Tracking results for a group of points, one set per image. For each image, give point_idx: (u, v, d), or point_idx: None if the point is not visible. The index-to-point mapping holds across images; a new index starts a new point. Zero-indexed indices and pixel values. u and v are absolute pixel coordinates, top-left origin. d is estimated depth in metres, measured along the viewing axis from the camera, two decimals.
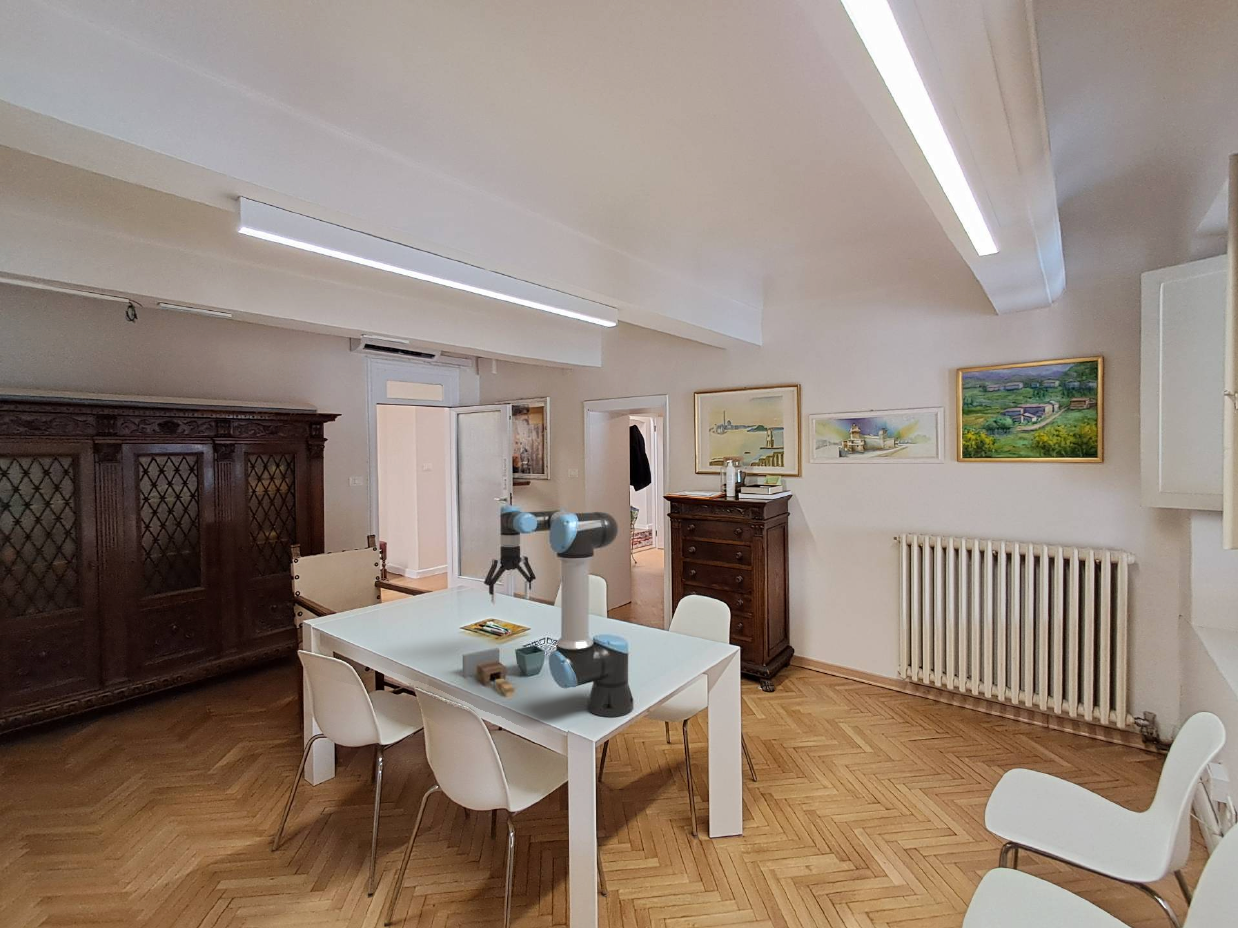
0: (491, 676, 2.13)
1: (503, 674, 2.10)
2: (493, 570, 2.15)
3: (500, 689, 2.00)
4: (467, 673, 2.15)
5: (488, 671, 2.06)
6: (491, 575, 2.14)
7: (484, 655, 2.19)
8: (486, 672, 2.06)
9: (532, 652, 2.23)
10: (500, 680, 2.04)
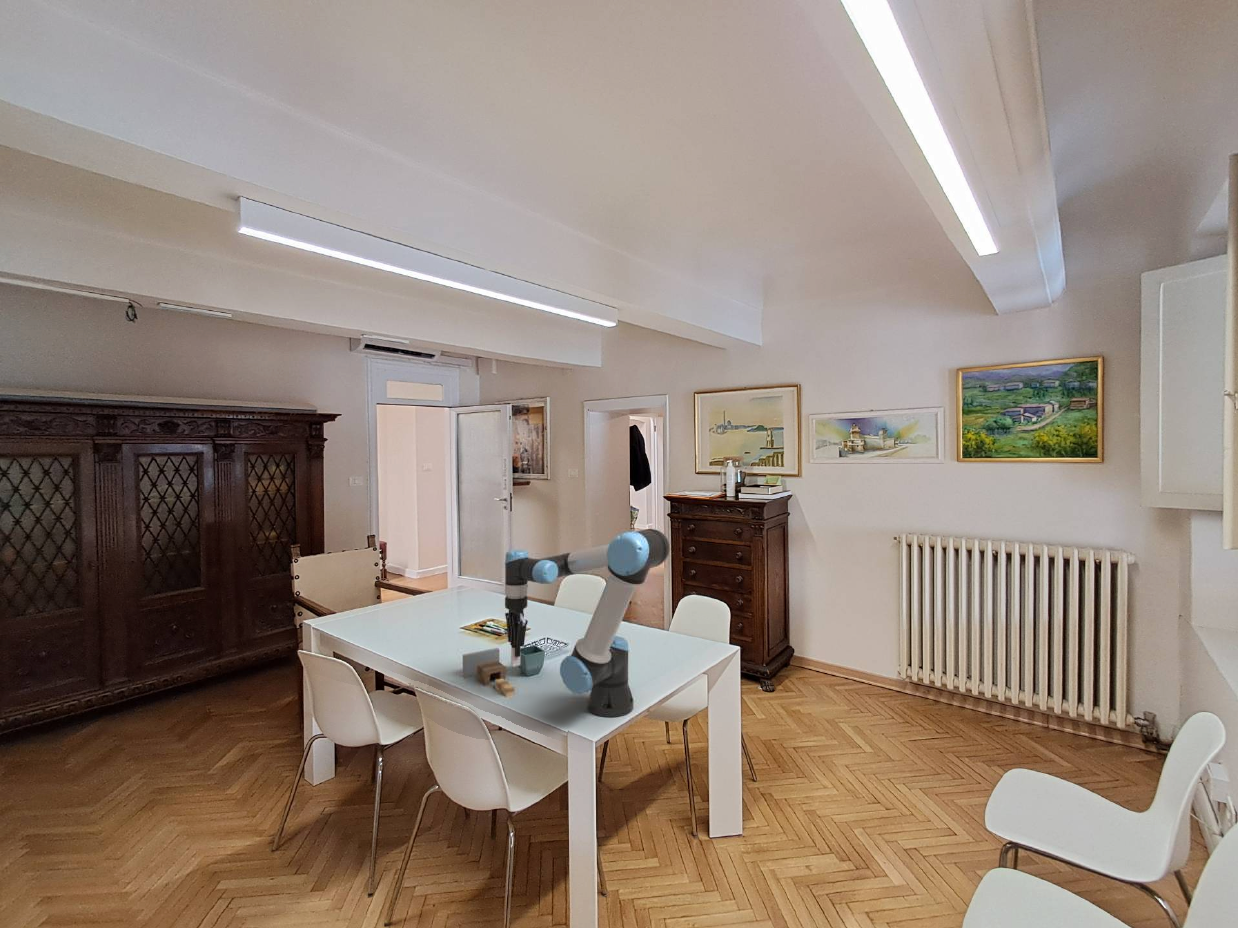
0: (491, 676, 2.13)
1: (503, 674, 2.10)
2: (507, 624, 1.96)
3: (500, 689, 2.00)
4: (467, 673, 2.15)
5: (488, 671, 2.06)
6: (507, 630, 1.96)
7: (484, 655, 2.19)
8: (486, 672, 2.06)
9: (532, 652, 2.23)
10: (500, 680, 2.04)
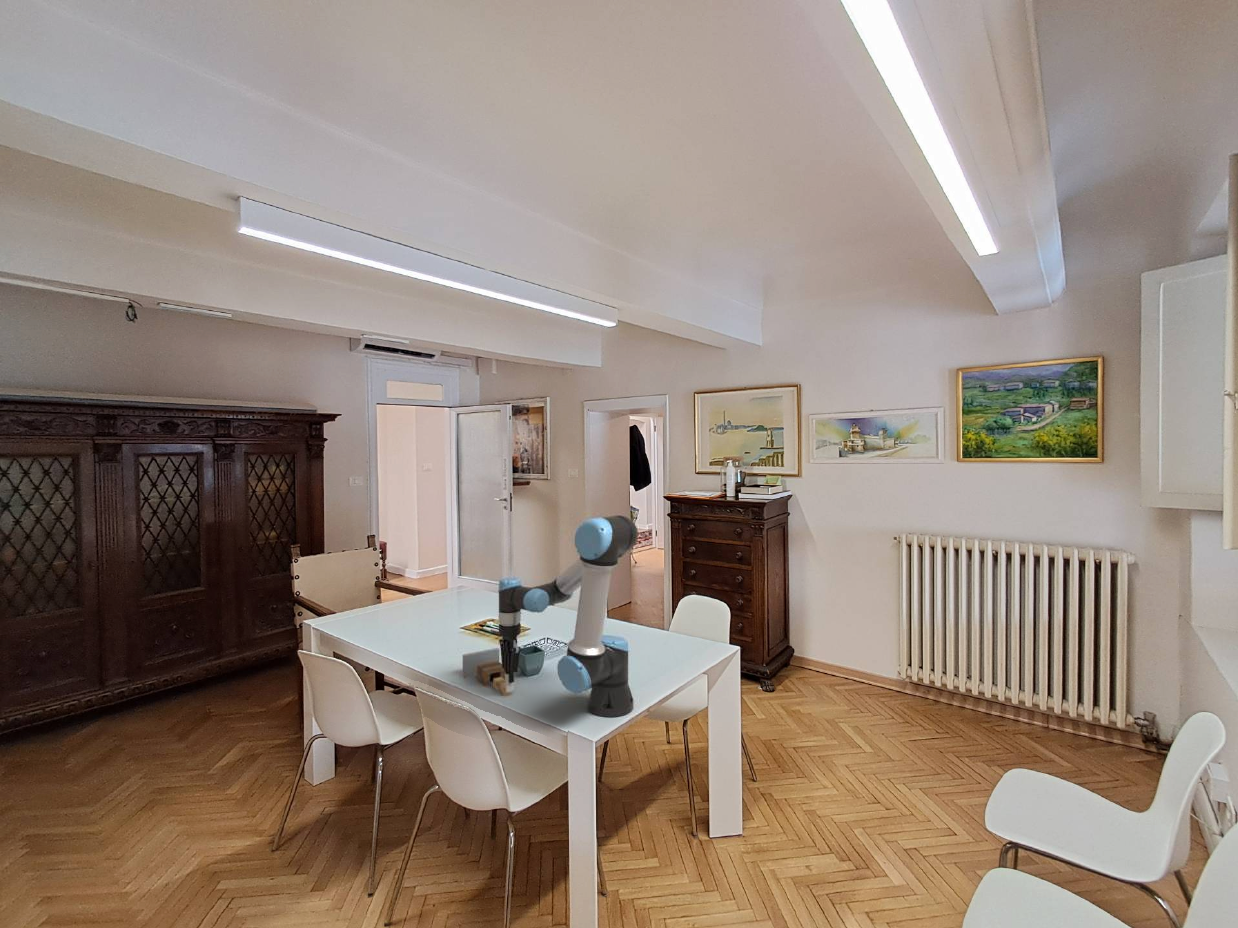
0: (491, 676, 2.13)
1: (503, 674, 2.10)
2: (501, 651, 2.00)
3: (499, 688, 2.01)
4: (467, 673, 2.15)
5: (488, 671, 2.06)
6: (501, 656, 2.00)
7: (484, 655, 2.19)
8: (486, 672, 2.06)
9: (532, 652, 2.23)
10: (499, 679, 2.05)
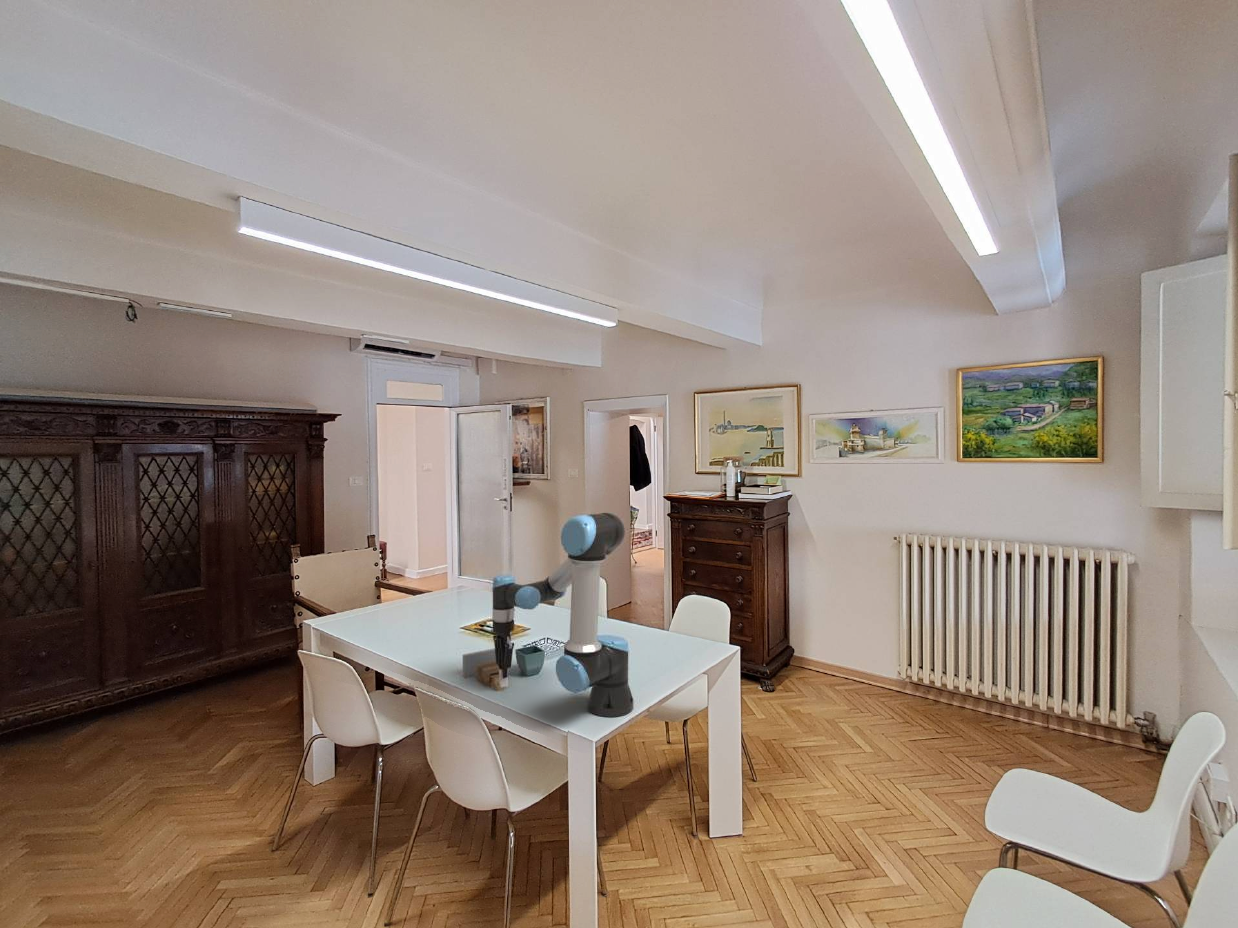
0: None
1: None
2: (495, 647, 2.05)
3: (493, 683, 2.06)
4: (467, 673, 2.15)
5: (488, 671, 2.06)
6: (495, 652, 2.04)
7: (484, 655, 2.19)
8: (486, 672, 2.06)
9: (532, 652, 2.23)
10: (493, 674, 2.09)
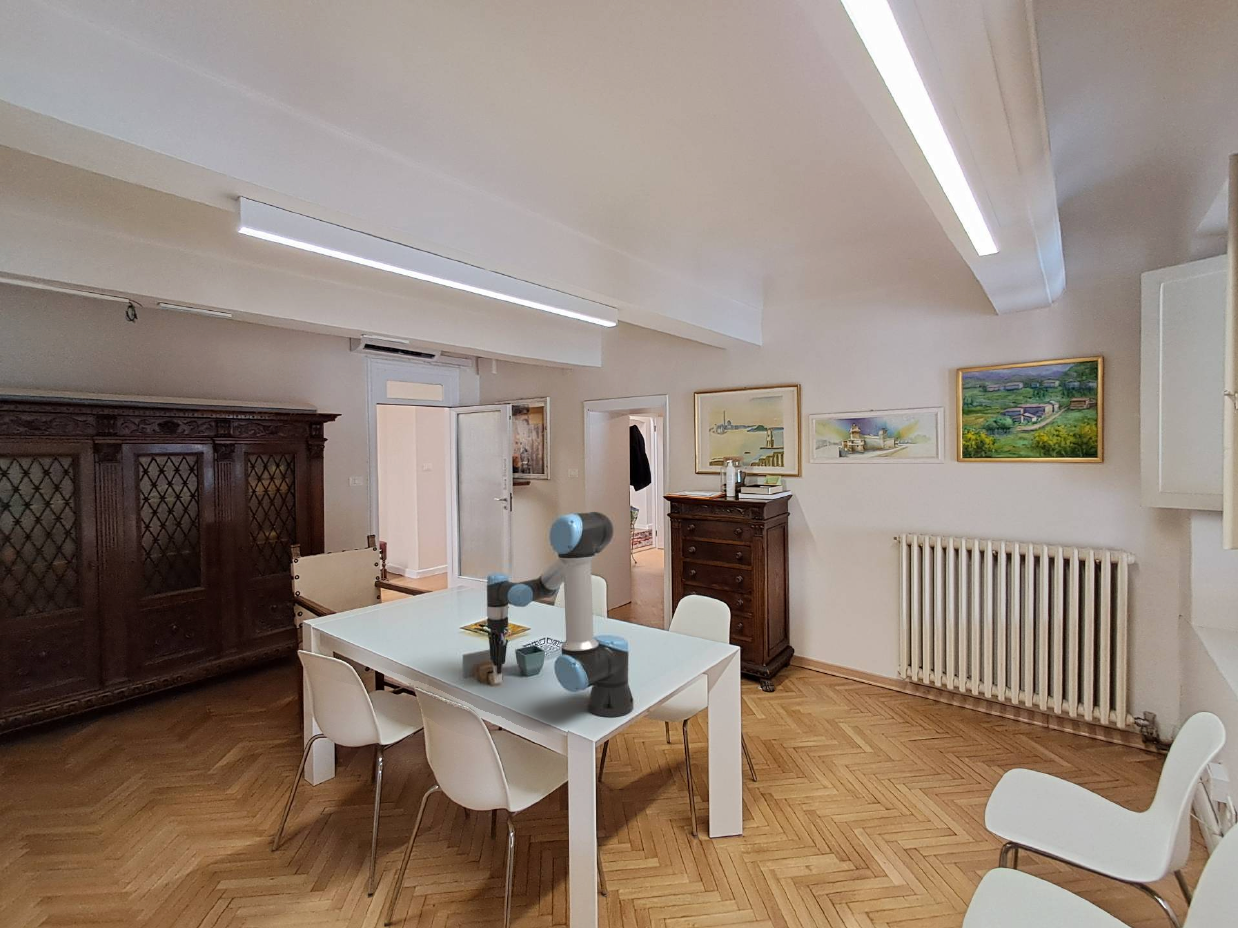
0: None
1: None
2: (489, 643, 2.09)
3: (487, 678, 2.10)
4: (467, 673, 2.15)
5: (485, 669, 2.08)
6: (490, 649, 2.09)
7: (484, 655, 2.19)
8: (483, 670, 2.08)
9: (532, 652, 2.23)
10: None
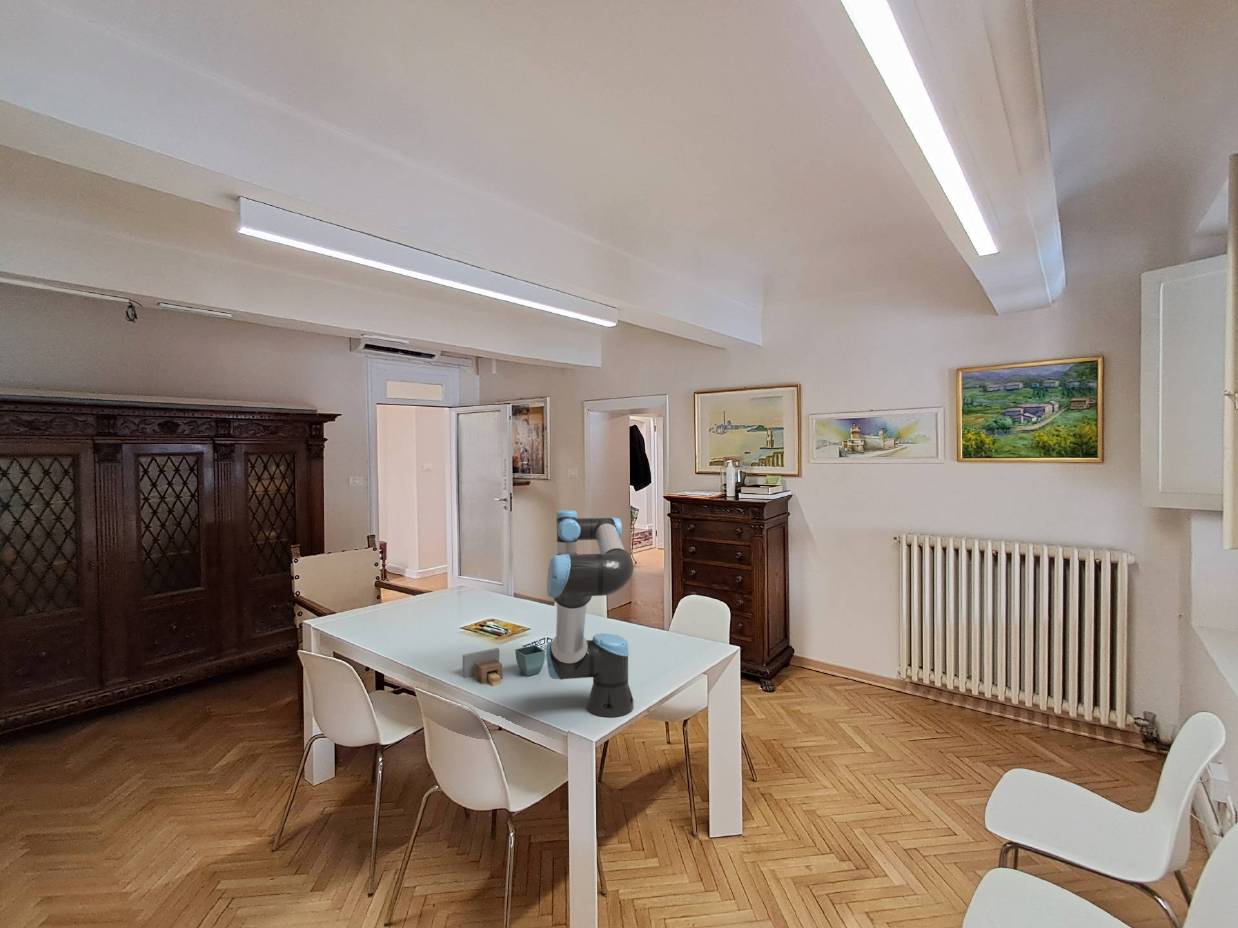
0: None
1: (500, 672, 2.12)
2: None
3: (487, 679, 2.10)
4: (467, 673, 2.15)
5: (485, 669, 2.09)
6: None
7: (484, 655, 2.19)
8: (483, 670, 2.08)
9: (532, 652, 2.23)
10: None
